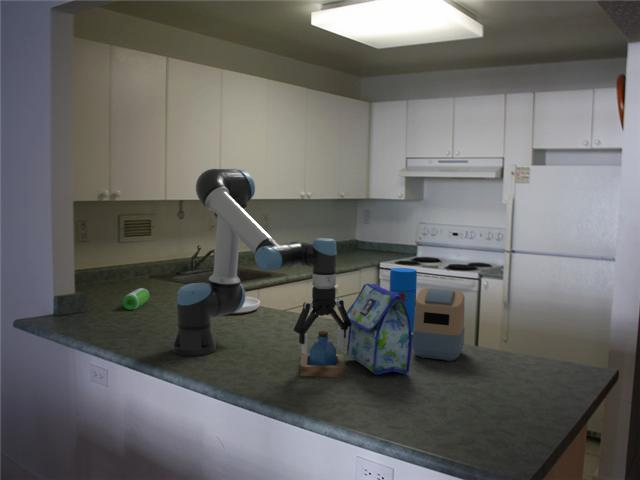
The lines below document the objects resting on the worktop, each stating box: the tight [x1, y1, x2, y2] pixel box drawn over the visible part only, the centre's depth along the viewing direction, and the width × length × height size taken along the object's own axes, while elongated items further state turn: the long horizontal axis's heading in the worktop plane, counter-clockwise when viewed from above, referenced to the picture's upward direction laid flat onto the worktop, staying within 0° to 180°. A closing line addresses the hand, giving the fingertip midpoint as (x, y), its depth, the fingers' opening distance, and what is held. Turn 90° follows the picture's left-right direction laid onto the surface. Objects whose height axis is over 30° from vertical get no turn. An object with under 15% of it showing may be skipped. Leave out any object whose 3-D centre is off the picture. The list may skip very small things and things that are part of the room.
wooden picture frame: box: [299, 353, 346, 378], centre depth 198 cm, size 14×14×3 cm
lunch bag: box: [346, 283, 413, 375], centre depth 200 cm, size 22×17×26 cm
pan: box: [230, 295, 261, 315], centre depth 287 cm, size 25×44×6 cm, turn 51°
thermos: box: [389, 267, 418, 333], centre depth 249 cm, size 11×11×25 cm
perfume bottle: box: [309, 330, 337, 366], centre depth 197 cm, size 6×6×12 cm
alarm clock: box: [412, 287, 465, 362], centre depth 215 cm, size 17×17×23 cm
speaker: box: [122, 287, 150, 311], centre depth 283 cm, size 18×7×8 cm, turn 177°
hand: (322, 350), depth 197 cm, fingers open, 13 cm apart
